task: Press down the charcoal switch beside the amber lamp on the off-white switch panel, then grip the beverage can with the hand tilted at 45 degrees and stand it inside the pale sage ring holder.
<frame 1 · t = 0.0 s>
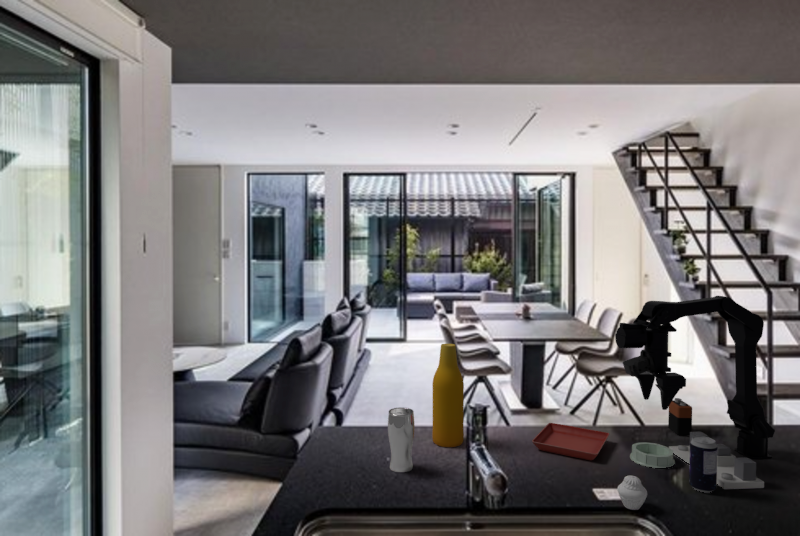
hand: (655, 404, 145), 15 cm above the worktop, tool pointing down, fingers open, 9 cm apart
switch panel: (712, 468, 138), on the worktop
battery: (679, 433, 165), on the worktop
beverage can: (702, 489, 127), on the worktop
lidded jar: (631, 507, 118), on the worktop
ring holder: (652, 460, 143), on the worktop
plant saucer: (571, 448, 153), on the worktop
beer bottle: (447, 442, 157), on the worktop
beer glass: (401, 468, 139), on the worktop
tagged switch: (720, 451, 138), point 4 cm above the worktop, slide at 0.0 cm
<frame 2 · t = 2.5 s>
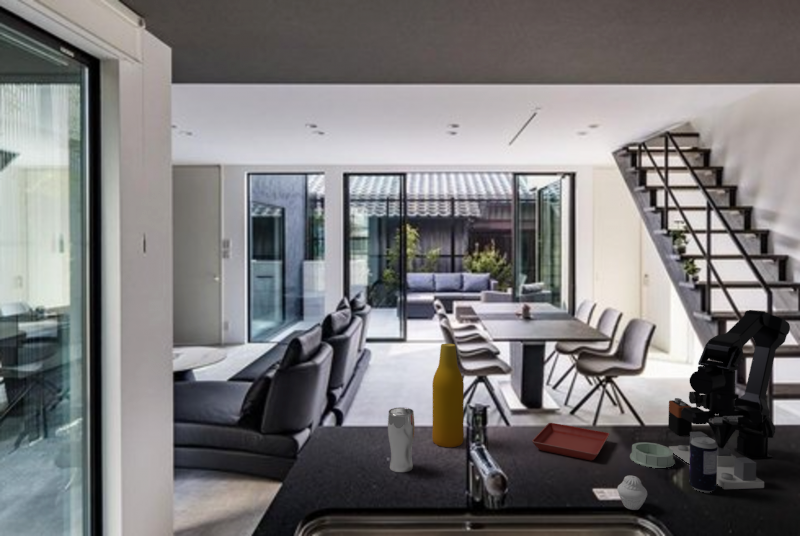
hand: (720, 447, 138), 5 cm above the worktop, tool pointing down, fingers closed, pressing on tagged switch
tagged switch: (720, 452, 138), point 4 cm above the worktop, slide at 0.3 cm, touching gripper
everything else where it was.
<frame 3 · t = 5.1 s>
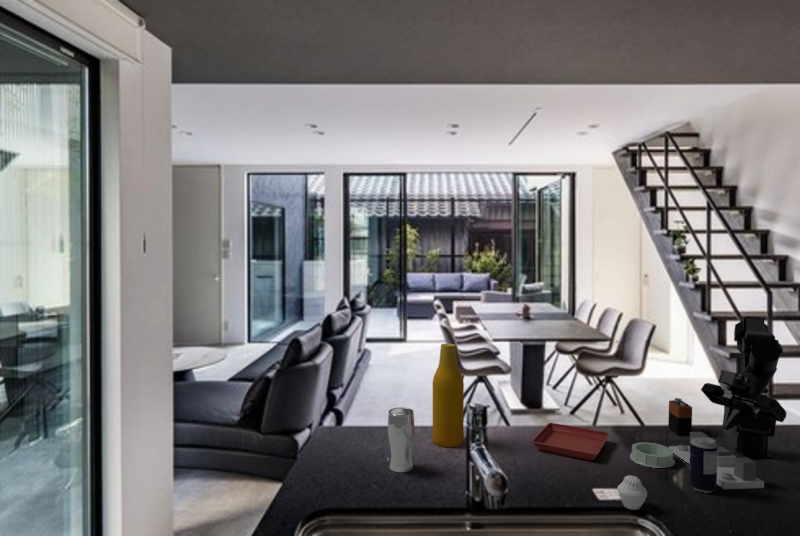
hand: (724, 428, 130), 13 cm above the worktop, tool tilted 45°, fingers closed
tagged switch: (720, 455, 138), point 3 cm above the worktop, slide at 0.9 cm
everything else where it was.
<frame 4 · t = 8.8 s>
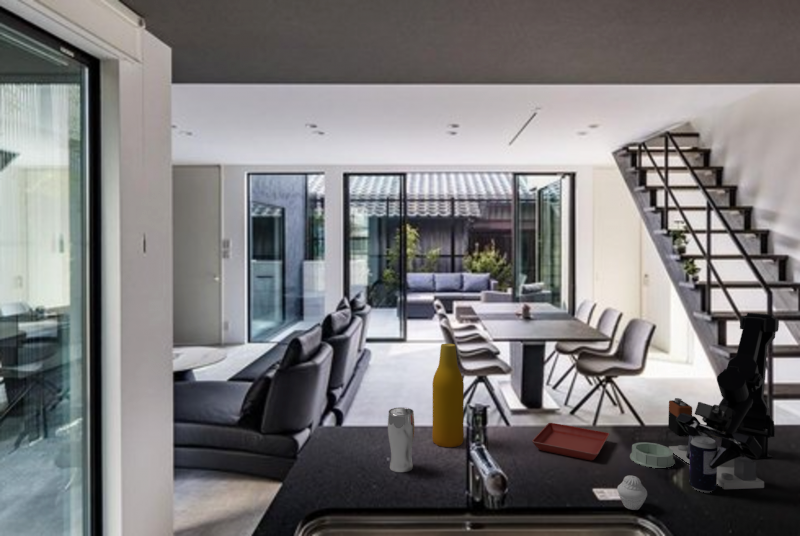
hand: (699, 462, 126), 7 cm above the worktop, tool tilted 45°, fingers closed on beverage can, 6 cm apart
beverage can: (702, 489, 127), on the worktop, touching gripper
everything else where it was.
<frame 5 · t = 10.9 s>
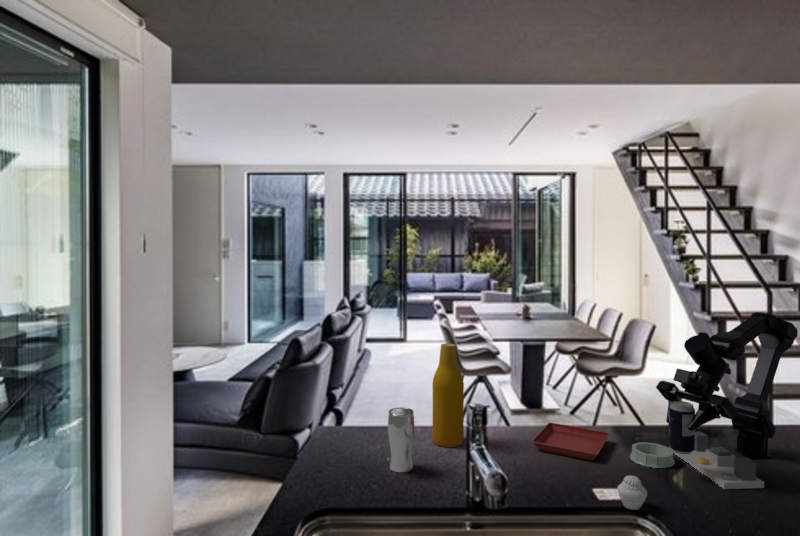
hand: (678, 425, 132), 13 cm above the worktop, tool tilted 45°, fingers closed on beverage can, 6 cm apart
beverage can: (681, 451, 133), point 6 cm above the worktop, touching gripper
everything else where it was.
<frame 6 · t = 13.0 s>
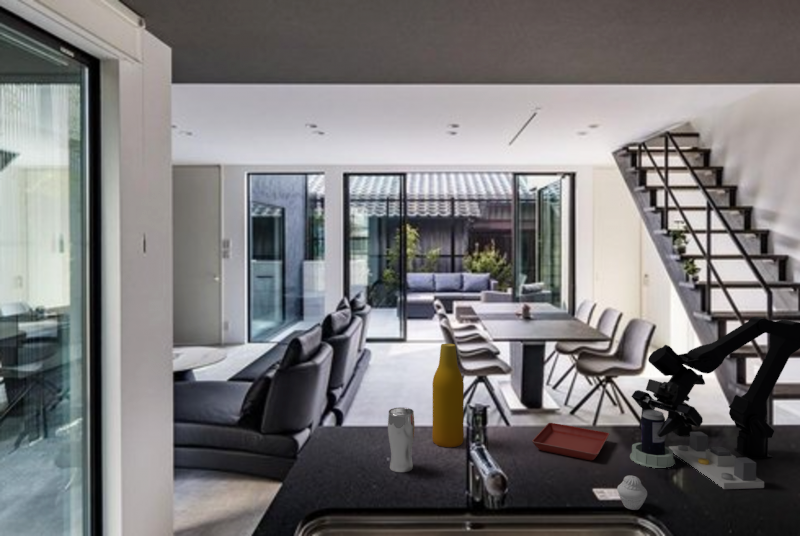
hand: (649, 432, 142), 8 cm above the worktop, tool tilted 45°, fingers closed on beverage can, 6 cm apart
beverage can: (652, 457, 143), point 1 cm above the worktop, touching gripper
everything else where it was.
when the fingers open (8 cm above the worktop, at t = 13.1 s): beverage can stays where it is, resting on ring holder.
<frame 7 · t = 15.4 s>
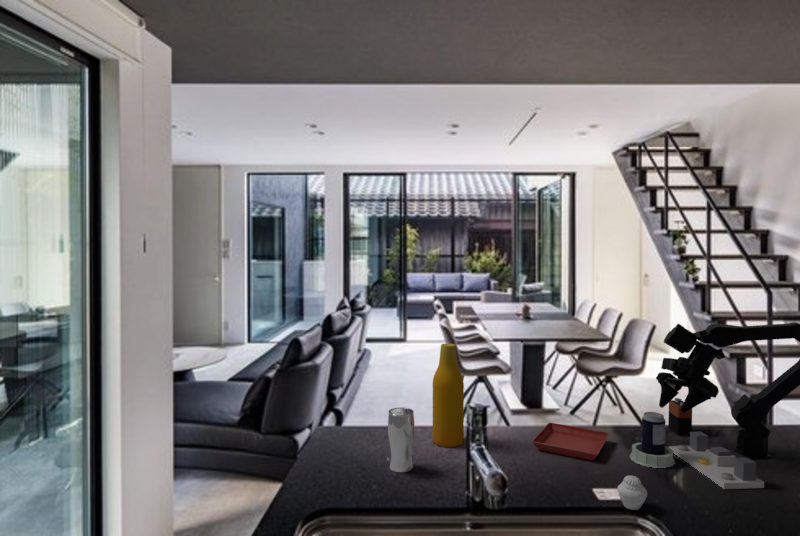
hand: (671, 409, 147), 13 cm above the worktop, tool tilted 40°, fingers open, 9 cm apart
beverage can: (652, 459, 143), resting on ring holder
everything else where it was.
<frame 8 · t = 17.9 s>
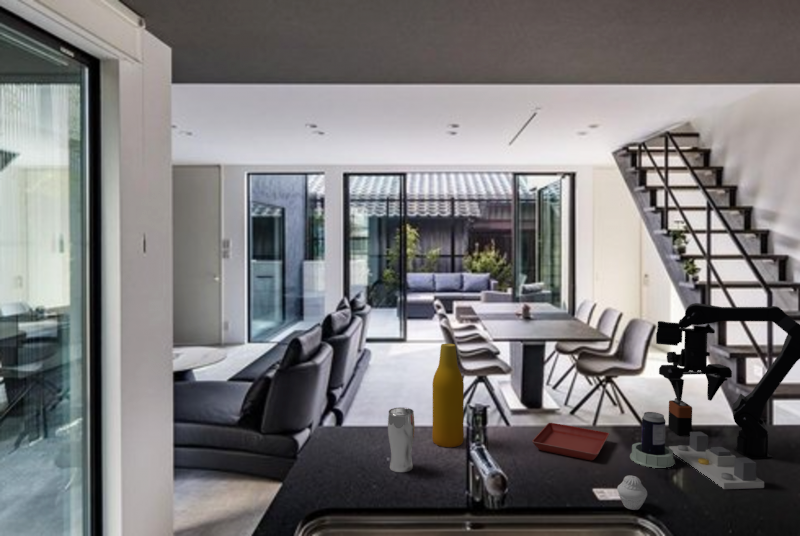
hand: (694, 400, 154), 13 cm above the worktop, tool pointing down, fingers open, 9 cm apart
nothing on the worktop moved.
at the end: tagged switch slide at 0.9 cm; beverage can 0.2 cm off-centre on the ring holder, point 0.3 cm above the ring holder's base; beverage can tilted 0° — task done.
